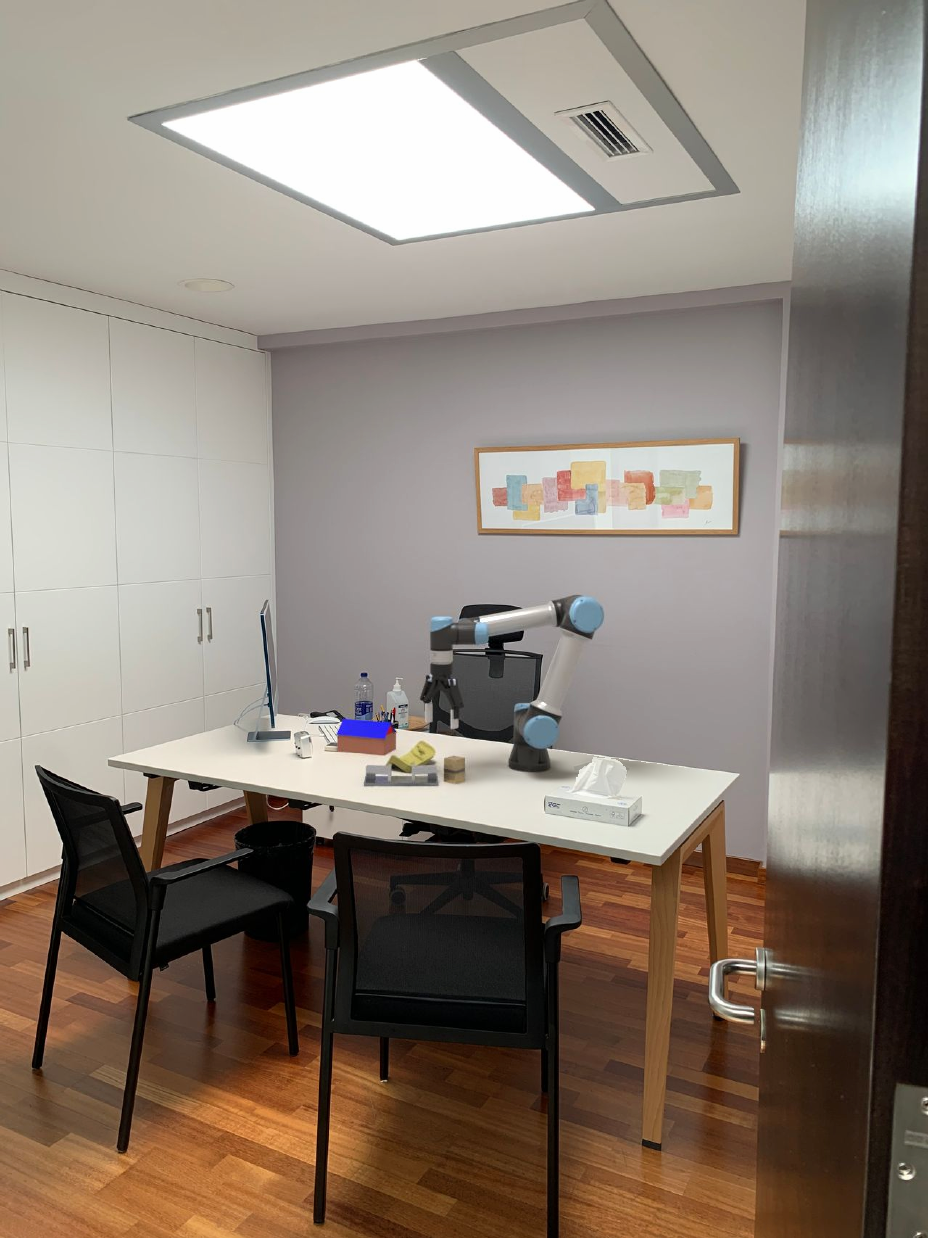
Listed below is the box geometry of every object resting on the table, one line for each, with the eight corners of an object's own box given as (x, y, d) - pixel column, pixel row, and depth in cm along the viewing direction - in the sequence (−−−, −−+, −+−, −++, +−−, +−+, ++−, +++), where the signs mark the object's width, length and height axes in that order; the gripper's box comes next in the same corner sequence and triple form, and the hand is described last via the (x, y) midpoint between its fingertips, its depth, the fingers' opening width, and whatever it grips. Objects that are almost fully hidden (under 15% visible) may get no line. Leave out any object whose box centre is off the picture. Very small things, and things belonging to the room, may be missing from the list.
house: (384, 756, 341) (384, 725, 340) (336, 751, 347) (336, 721, 346) (397, 749, 352) (397, 719, 351) (350, 745, 358) (350, 716, 357)
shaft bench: (437, 778, 309) (437, 762, 308) (438, 786, 300) (438, 769, 299) (365, 779, 307) (365, 762, 307) (363, 786, 298) (363, 769, 298)
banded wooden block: (453, 778, 309) (453, 755, 309) (465, 781, 306) (465, 757, 305) (443, 781, 305) (443, 758, 305) (455, 784, 302) (455, 760, 301)
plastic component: (412, 767, 314) (389, 752, 318) (405, 785, 317) (382, 769, 320) (440, 752, 332) (418, 737, 335) (433, 768, 334) (412, 754, 338)
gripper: (409, 659, 312) (409, 721, 314) (457, 667, 294) (457, 732, 295) (426, 658, 317) (426, 718, 319) (474, 665, 299) (474, 729, 300)
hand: (441, 725), depth 307 cm, fingers open, 13 cm apart
